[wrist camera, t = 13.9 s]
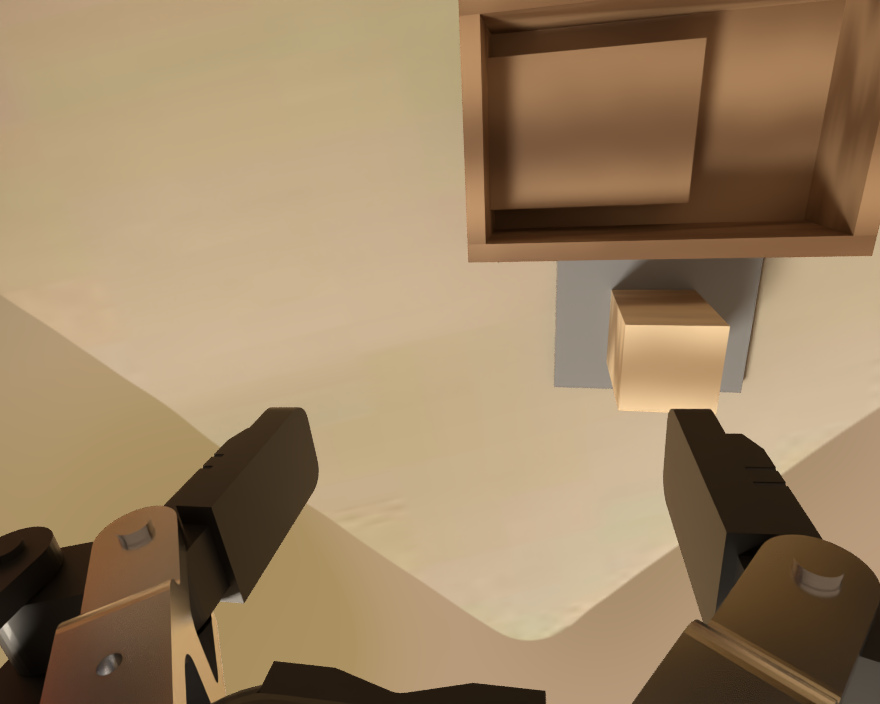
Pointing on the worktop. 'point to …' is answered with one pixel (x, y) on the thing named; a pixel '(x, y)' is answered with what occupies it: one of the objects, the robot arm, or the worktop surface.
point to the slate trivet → (591, 283)
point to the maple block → (665, 350)
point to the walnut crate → (670, 128)
